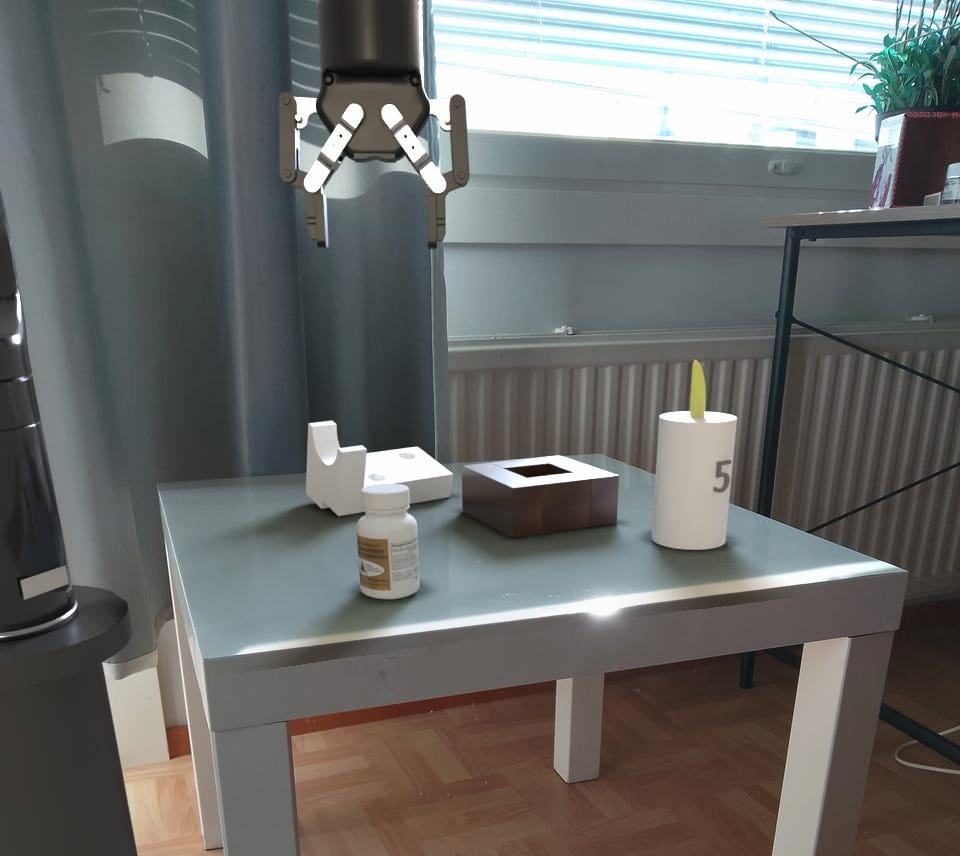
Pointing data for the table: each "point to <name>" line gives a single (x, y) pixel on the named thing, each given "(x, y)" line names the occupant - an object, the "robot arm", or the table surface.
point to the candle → (693, 473)
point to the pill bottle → (387, 543)
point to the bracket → (366, 471)
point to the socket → (539, 495)
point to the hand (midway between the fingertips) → (378, 248)
